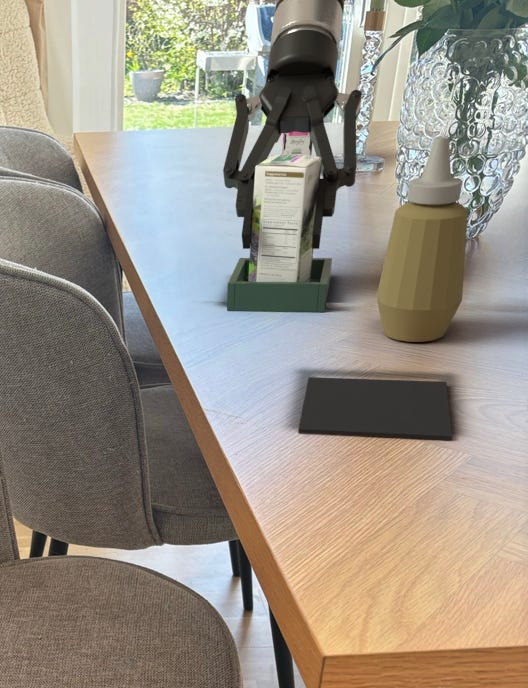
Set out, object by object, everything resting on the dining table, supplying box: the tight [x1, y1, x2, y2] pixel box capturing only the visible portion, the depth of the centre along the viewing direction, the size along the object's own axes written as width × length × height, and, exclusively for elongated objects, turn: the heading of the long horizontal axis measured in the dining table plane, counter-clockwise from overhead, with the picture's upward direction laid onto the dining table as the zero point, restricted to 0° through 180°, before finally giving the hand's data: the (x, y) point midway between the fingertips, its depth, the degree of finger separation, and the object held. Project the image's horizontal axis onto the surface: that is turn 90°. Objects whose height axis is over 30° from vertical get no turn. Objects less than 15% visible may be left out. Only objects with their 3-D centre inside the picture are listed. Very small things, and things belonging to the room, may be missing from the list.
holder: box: [226, 257, 333, 313], centre depth 112 cm, size 11×11×3 cm
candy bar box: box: [281, 131, 313, 156], centre depth 167 cm, size 11×5×16 cm, turn 169°
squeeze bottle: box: [376, 136, 469, 343], centre depth 95 cm, size 8×8×18 cm
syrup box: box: [247, 153, 322, 282], centre depth 109 cm, size 6×6×14 cm
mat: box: [297, 376, 453, 441], centre depth 85 cm, size 12×12×1 cm
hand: (280, 241), depth 107 cm, fingers closed on syrup box, 7 cm apart
